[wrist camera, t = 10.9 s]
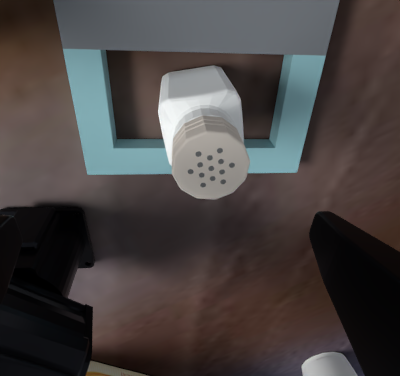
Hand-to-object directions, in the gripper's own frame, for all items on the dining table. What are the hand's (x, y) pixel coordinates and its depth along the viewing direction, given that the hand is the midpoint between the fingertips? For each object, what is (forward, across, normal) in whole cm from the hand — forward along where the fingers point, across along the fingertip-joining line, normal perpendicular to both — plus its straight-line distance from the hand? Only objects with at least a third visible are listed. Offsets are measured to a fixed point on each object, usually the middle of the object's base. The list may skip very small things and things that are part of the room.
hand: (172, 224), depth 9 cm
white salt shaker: (+13, -2, 0) cm, 13 cm away
